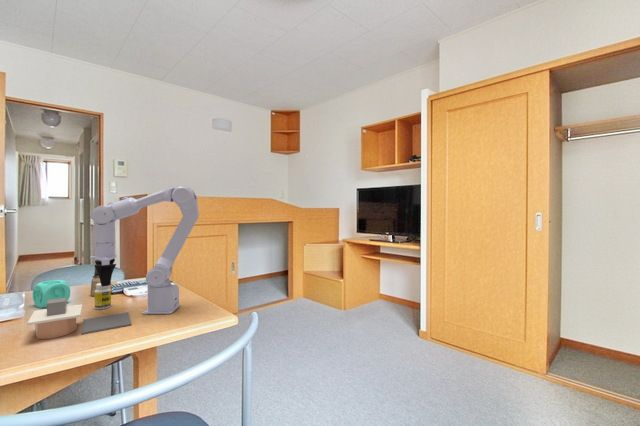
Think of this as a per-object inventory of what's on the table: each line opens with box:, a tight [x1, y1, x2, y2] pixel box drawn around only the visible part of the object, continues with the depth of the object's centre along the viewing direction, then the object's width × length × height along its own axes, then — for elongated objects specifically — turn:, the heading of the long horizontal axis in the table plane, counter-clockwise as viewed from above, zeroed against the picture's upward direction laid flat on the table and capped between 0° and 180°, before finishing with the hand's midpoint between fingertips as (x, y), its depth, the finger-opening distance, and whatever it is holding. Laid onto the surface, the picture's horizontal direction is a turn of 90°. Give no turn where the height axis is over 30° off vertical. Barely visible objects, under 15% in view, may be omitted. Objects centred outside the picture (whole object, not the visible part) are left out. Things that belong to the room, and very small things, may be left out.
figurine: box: [90, 267, 113, 298], centre depth 125 cm, size 7×7×12 cm
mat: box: [81, 311, 132, 335], centre depth 96 cm, size 12×12×1 cm
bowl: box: [34, 317, 77, 340], centre depth 89 cm, size 8×8×5 cm
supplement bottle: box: [94, 283, 112, 310], centre depth 110 cm, size 5×5×8 cm
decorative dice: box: [32, 279, 71, 309], centre depth 112 cm, size 8×8×8 cm
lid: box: [26, 298, 83, 326], centre depth 89 cm, size 11×11×4 cm
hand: (105, 283), depth 103 cm, fingers open, 7 cm apart
